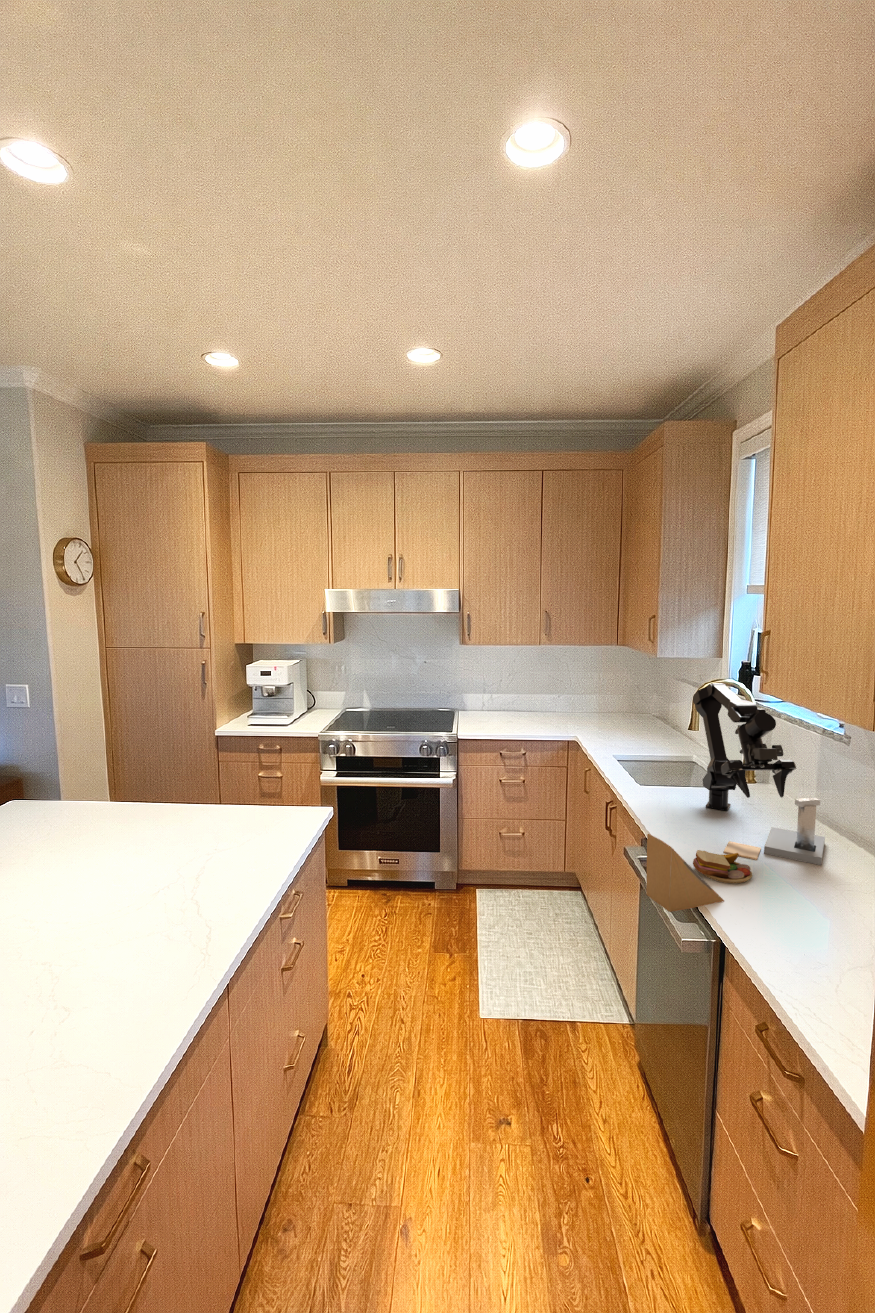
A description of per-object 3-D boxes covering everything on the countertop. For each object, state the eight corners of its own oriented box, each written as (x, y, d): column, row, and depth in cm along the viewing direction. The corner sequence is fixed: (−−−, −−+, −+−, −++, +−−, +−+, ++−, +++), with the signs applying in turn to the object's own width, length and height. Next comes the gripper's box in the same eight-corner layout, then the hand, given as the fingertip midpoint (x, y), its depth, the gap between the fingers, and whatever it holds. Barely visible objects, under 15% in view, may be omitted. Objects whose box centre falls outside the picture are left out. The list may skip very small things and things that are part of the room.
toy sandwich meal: (756, 889, 144) (756, 870, 144) (694, 881, 148) (694, 862, 148) (748, 866, 156) (748, 848, 155) (691, 859, 160) (691, 842, 160)
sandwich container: (726, 902, 138) (729, 838, 136) (669, 913, 134) (671, 847, 132) (699, 884, 146) (702, 824, 145) (645, 895, 142) (647, 833, 140)
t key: (789, 851, 164) (792, 797, 162) (808, 850, 165) (811, 796, 163) (800, 858, 160) (803, 802, 158) (820, 856, 161) (823, 801, 159)
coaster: (728, 842, 170) (728, 841, 170) (761, 849, 165) (761, 847, 165) (723, 852, 163) (723, 851, 163) (756, 859, 159) (756, 858, 159)
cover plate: (771, 833, 176) (771, 827, 176) (824, 843, 168) (824, 836, 168) (763, 853, 163) (764, 846, 163) (821, 865, 155) (821, 857, 155)
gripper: (730, 734, 169) (744, 789, 162) (798, 733, 169) (814, 789, 162) (715, 747, 179) (727, 800, 172) (779, 747, 179) (793, 800, 171)
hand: (765, 797), depth 169 cm, fingers open, 9 cm apart
